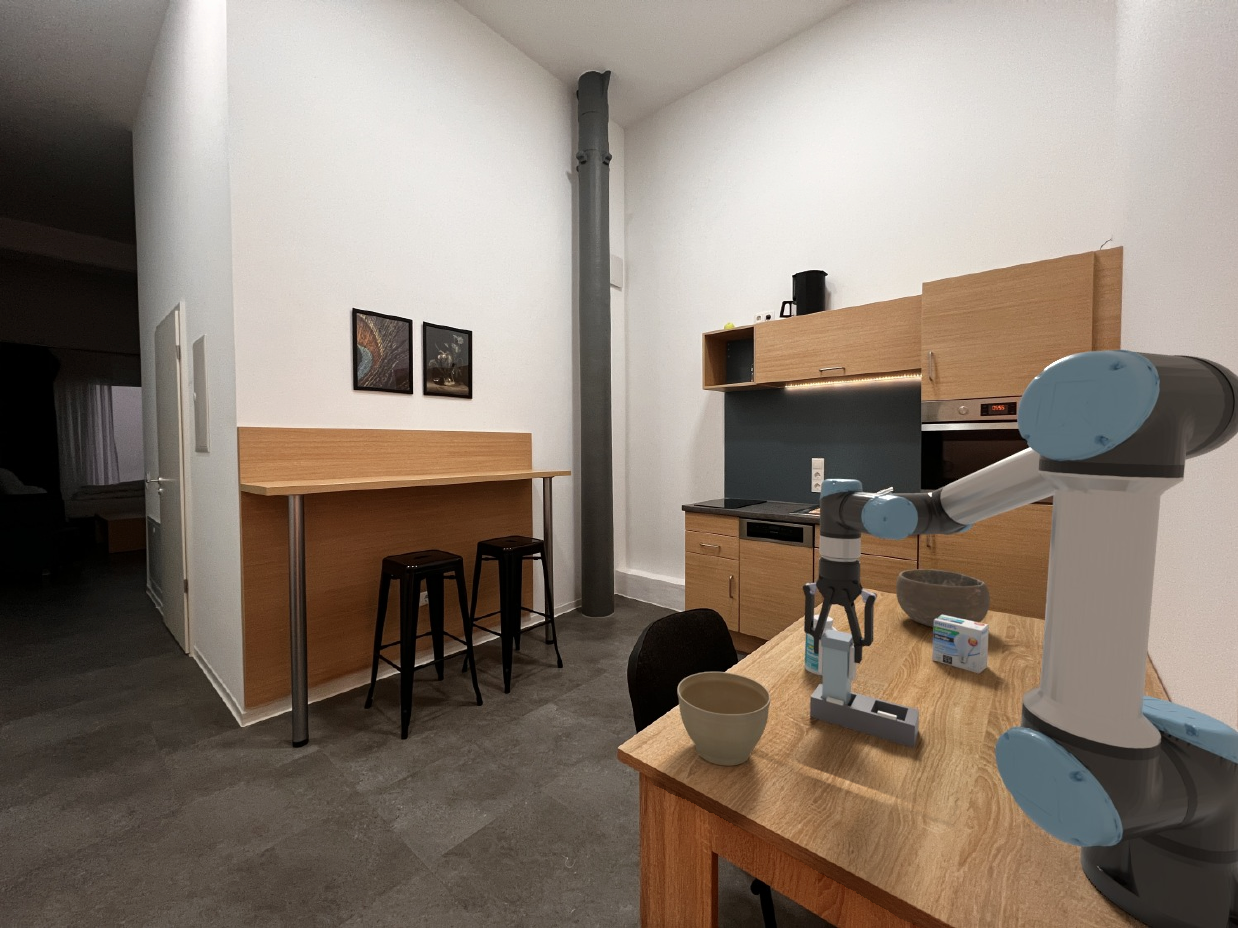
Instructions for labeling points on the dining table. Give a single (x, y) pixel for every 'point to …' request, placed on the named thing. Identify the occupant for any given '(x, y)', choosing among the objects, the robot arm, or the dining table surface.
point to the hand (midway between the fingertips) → (837, 673)
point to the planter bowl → (723, 715)
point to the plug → (836, 665)
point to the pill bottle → (810, 656)
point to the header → (868, 716)
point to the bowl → (941, 595)
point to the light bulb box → (960, 643)
